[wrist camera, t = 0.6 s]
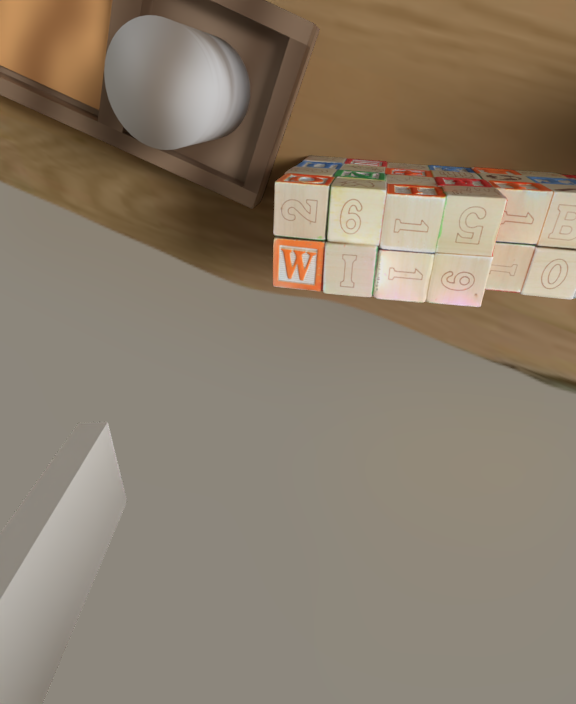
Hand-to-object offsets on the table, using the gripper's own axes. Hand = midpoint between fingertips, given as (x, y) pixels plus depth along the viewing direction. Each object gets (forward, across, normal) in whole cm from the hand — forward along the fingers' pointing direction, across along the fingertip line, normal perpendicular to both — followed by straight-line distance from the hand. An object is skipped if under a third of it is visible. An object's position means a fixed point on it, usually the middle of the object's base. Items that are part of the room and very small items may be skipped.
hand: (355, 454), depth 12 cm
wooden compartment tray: (+30, -12, +14) cm, 35 cm away
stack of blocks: (+26, +11, +3) cm, 28 cm away
